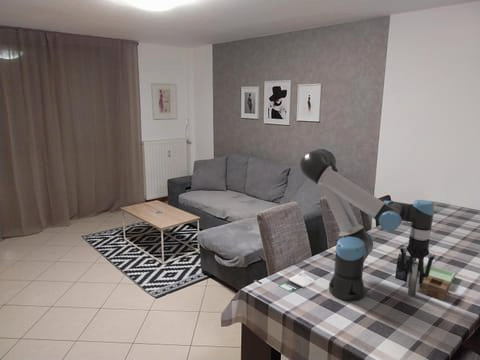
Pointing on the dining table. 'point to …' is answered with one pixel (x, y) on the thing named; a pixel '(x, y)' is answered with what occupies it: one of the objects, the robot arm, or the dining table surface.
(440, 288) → the tan square frame
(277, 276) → the dining table surface
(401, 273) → the box
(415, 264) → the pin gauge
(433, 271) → the tray
